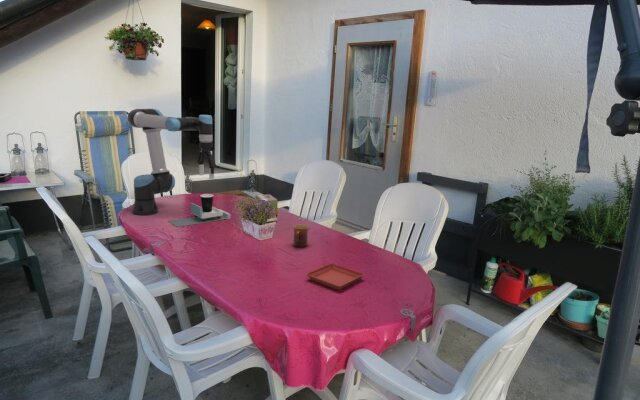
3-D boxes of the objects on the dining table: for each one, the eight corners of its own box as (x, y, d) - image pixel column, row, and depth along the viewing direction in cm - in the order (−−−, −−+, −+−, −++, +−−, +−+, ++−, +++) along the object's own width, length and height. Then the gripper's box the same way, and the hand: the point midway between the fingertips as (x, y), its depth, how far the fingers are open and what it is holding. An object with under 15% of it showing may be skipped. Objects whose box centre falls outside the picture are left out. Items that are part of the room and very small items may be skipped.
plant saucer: (331, 269, 197) (331, 262, 197) (364, 280, 186) (364, 273, 186) (305, 281, 184) (305, 273, 183) (339, 294, 173) (339, 286, 172)
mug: (294, 241, 231) (294, 223, 228) (310, 243, 229) (311, 225, 227) (288, 249, 219) (288, 230, 217) (305, 251, 218) (305, 231, 215)
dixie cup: (207, 215, 260) (207, 197, 257) (197, 213, 264) (197, 195, 261) (216, 212, 267) (216, 195, 264) (207, 210, 270) (206, 193, 268)
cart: (190, 216, 266) (190, 202, 264) (212, 213, 275) (212, 199, 273) (200, 222, 256) (200, 207, 254) (222, 218, 265) (222, 204, 263)
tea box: (254, 217, 273) (255, 194, 270) (270, 216, 277) (270, 193, 274) (262, 224, 260) (262, 200, 257) (277, 222, 264) (278, 199, 261)
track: (167, 221, 257) (167, 216, 256) (220, 213, 279) (219, 209, 278) (177, 227, 247) (177, 222, 246) (230, 218, 268) (230, 214, 268)
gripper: (191, 139, 262) (191, 174, 267) (209, 144, 243) (210, 181, 248) (202, 139, 266) (203, 173, 271) (221, 143, 248) (222, 180, 253)
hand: (206, 177), depth 260 cm, fingers open, 13 cm apart
